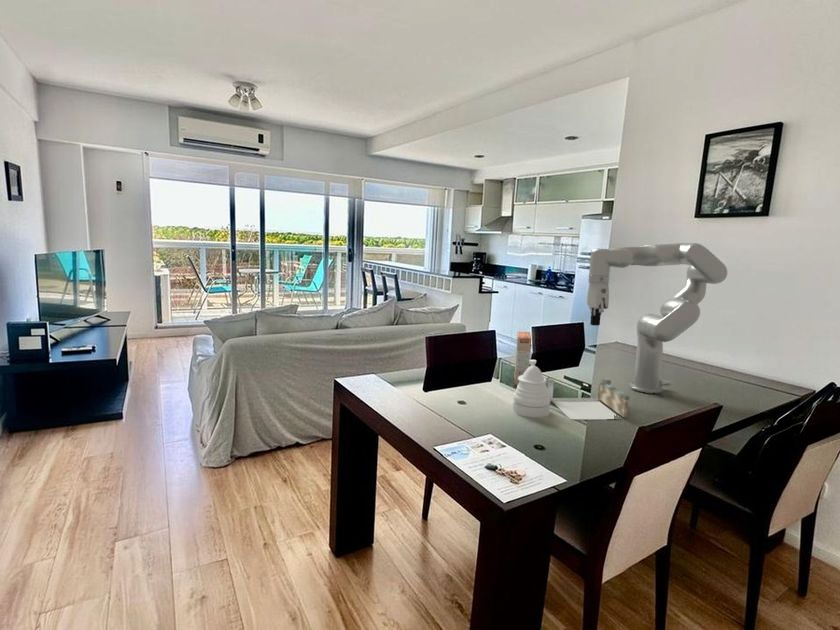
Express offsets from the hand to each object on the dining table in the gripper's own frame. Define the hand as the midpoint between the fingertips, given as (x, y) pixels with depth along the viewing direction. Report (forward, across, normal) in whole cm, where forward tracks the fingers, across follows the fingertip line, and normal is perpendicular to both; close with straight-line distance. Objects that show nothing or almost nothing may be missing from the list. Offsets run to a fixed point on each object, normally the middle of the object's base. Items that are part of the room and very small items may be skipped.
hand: (594, 324), depth 184 cm
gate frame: (+27, -14, +11) cm, 32 cm away
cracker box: (+27, +10, +26) cm, 39 cm away
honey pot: (+27, -24, +32) cm, 48 cm away
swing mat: (+27, -24, +12) cm, 38 cm away
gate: (+26, -23, +2) cm, 35 cm away
